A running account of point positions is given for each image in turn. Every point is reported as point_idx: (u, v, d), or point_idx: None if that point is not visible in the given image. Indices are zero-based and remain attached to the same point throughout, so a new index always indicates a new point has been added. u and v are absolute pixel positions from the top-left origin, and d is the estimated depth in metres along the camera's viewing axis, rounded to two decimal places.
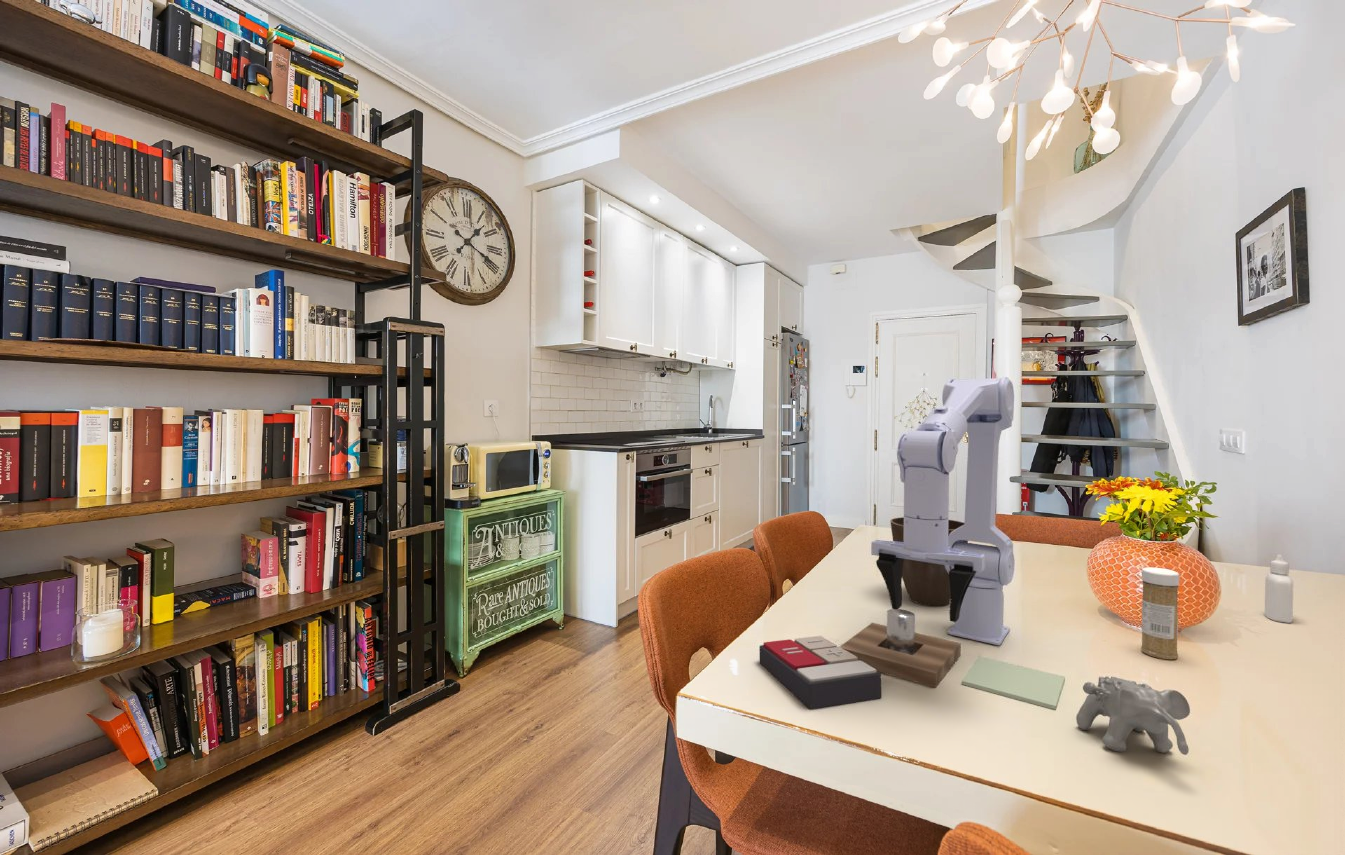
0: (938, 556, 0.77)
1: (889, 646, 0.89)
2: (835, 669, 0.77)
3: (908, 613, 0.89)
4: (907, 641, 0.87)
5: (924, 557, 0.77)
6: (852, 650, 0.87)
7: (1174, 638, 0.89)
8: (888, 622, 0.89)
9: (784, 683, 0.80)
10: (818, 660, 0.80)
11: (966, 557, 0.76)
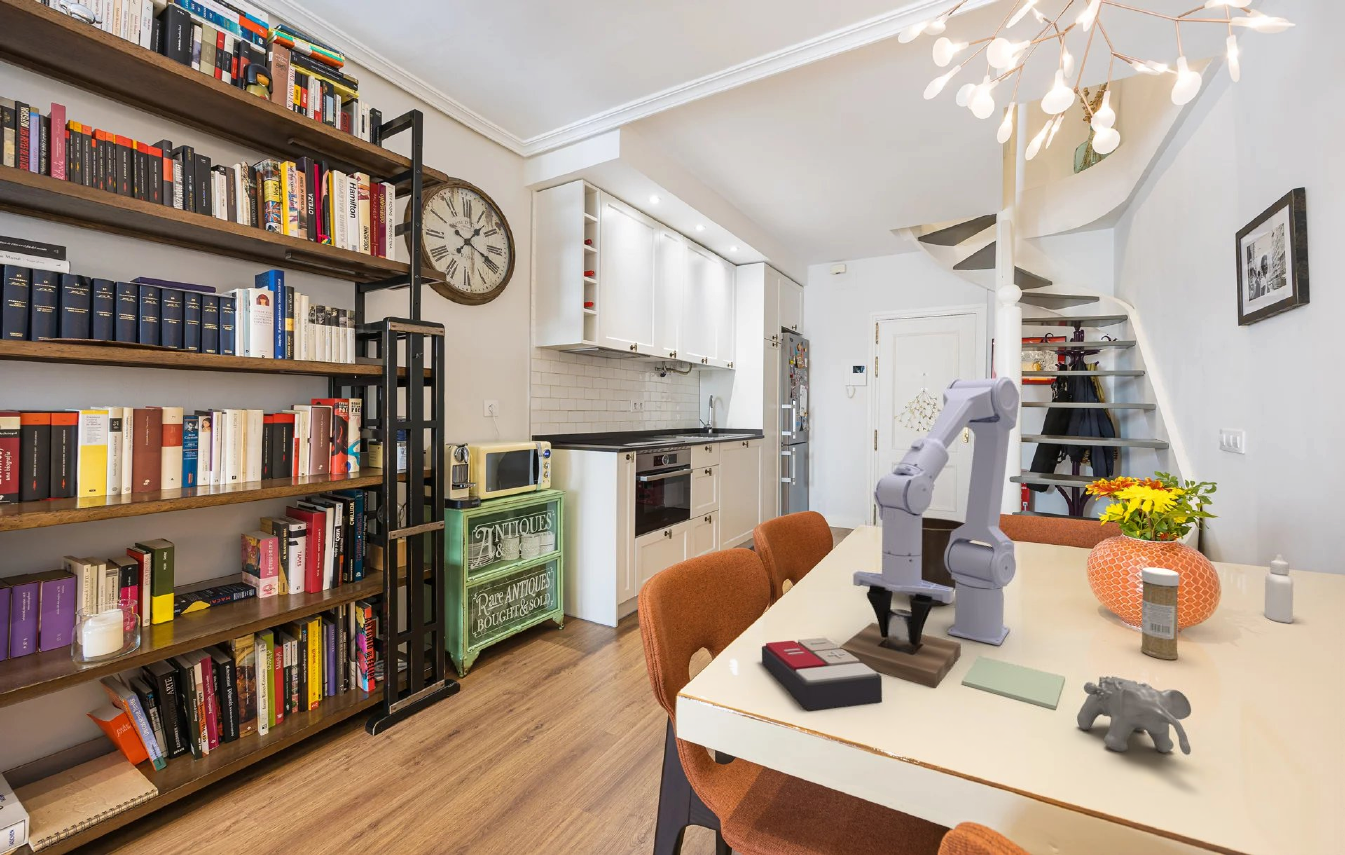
0: (911, 589, 0.86)
1: (889, 646, 0.89)
2: (834, 671, 0.76)
3: (908, 613, 0.89)
4: (907, 641, 0.87)
5: (899, 590, 0.86)
6: (852, 650, 0.87)
7: (1174, 638, 0.89)
8: (888, 622, 0.89)
9: (784, 684, 0.79)
10: (819, 661, 0.79)
11: (936, 590, 0.85)
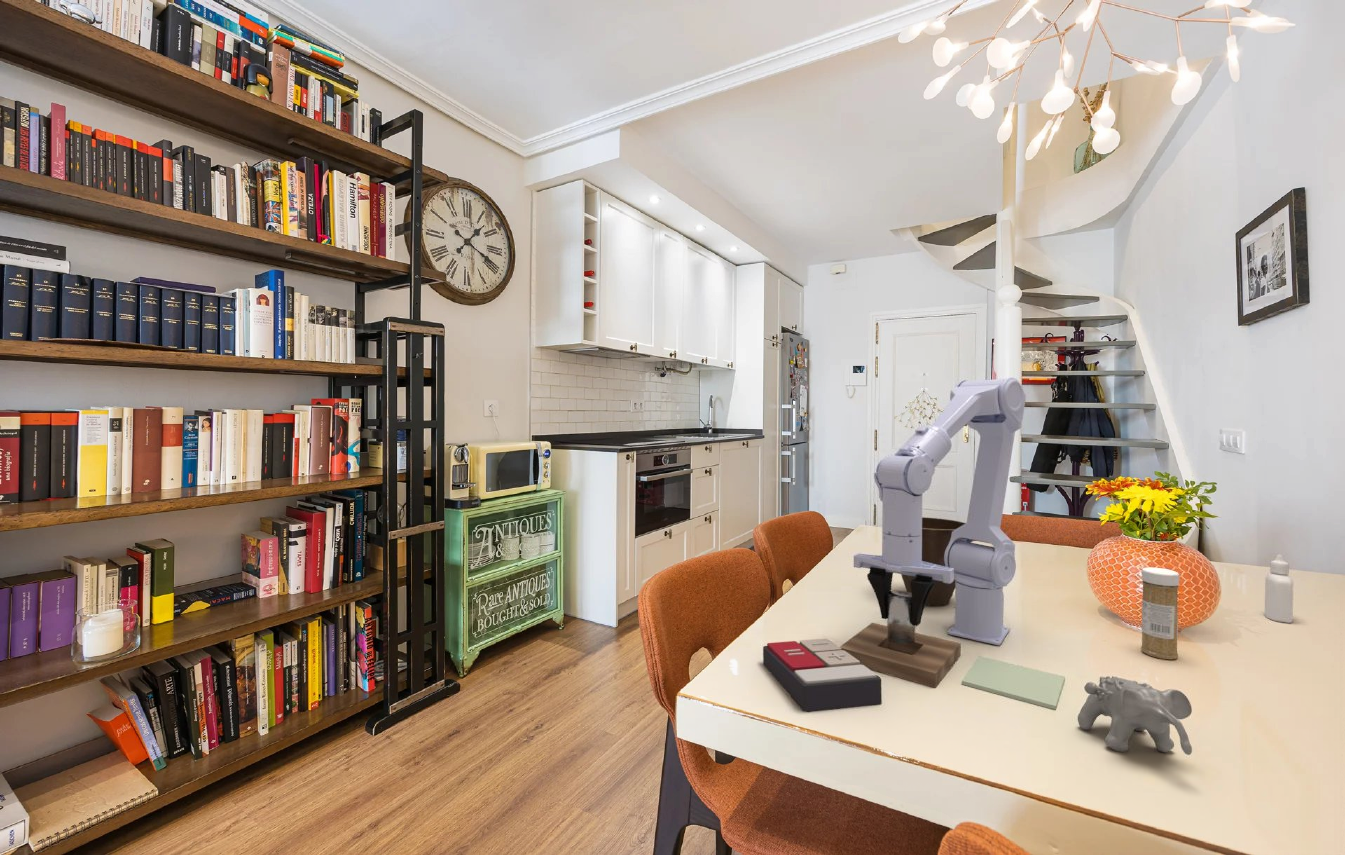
0: (911, 569, 0.86)
1: (889, 627, 0.89)
2: (833, 672, 0.76)
3: (908, 594, 0.89)
4: (907, 622, 0.87)
5: (899, 570, 0.85)
6: (852, 650, 0.87)
7: (1174, 638, 0.89)
8: (888, 603, 0.89)
9: (783, 684, 0.79)
10: (818, 662, 0.79)
11: (937, 570, 0.84)
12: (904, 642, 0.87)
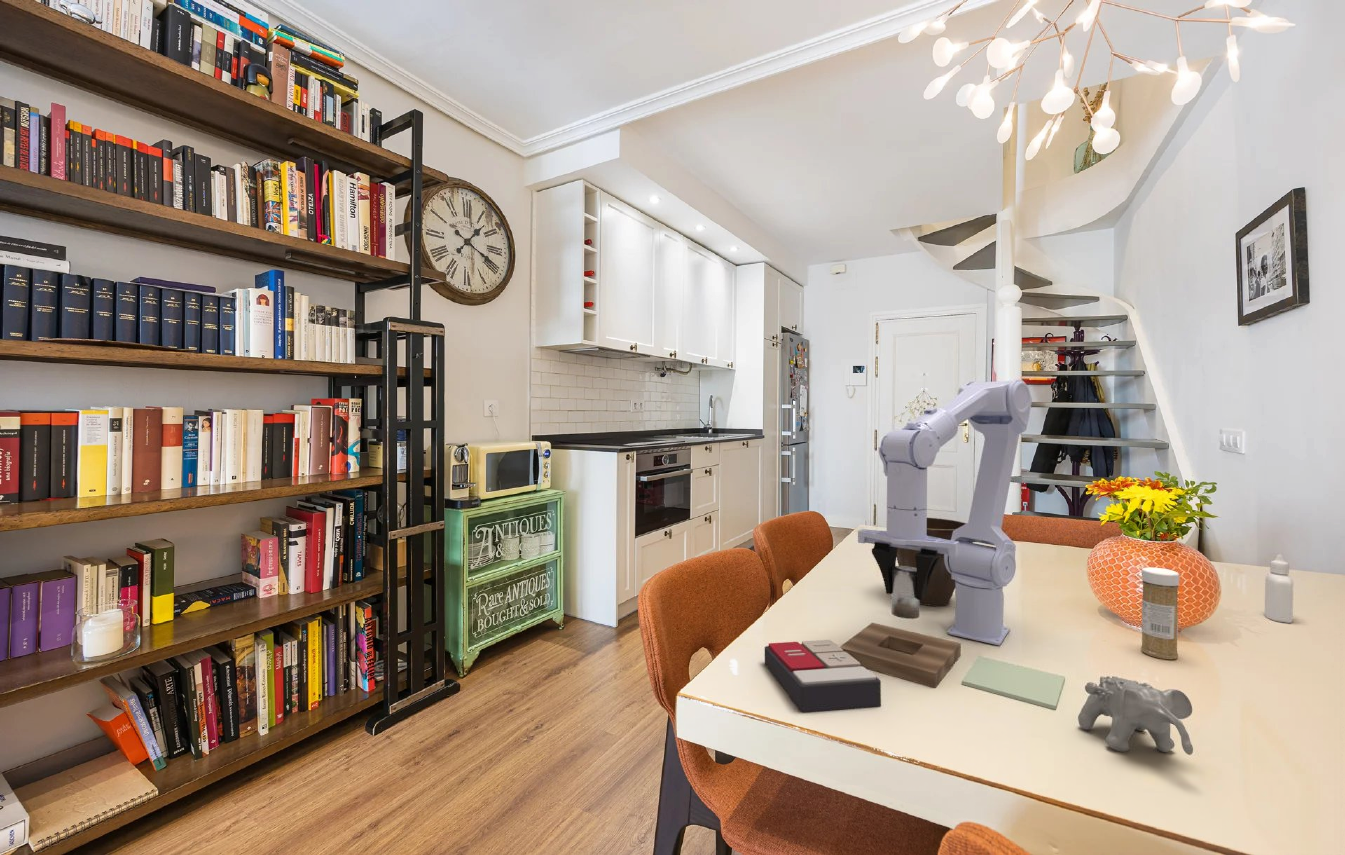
0: (916, 543, 0.85)
1: (894, 602, 0.88)
2: (832, 673, 0.76)
3: (913, 569, 0.89)
4: (912, 596, 0.87)
5: (904, 543, 0.85)
6: (852, 650, 0.87)
7: (1174, 638, 0.89)
8: (893, 578, 0.89)
9: (782, 685, 0.79)
10: (818, 663, 0.79)
11: (942, 544, 0.84)
12: (909, 616, 0.87)
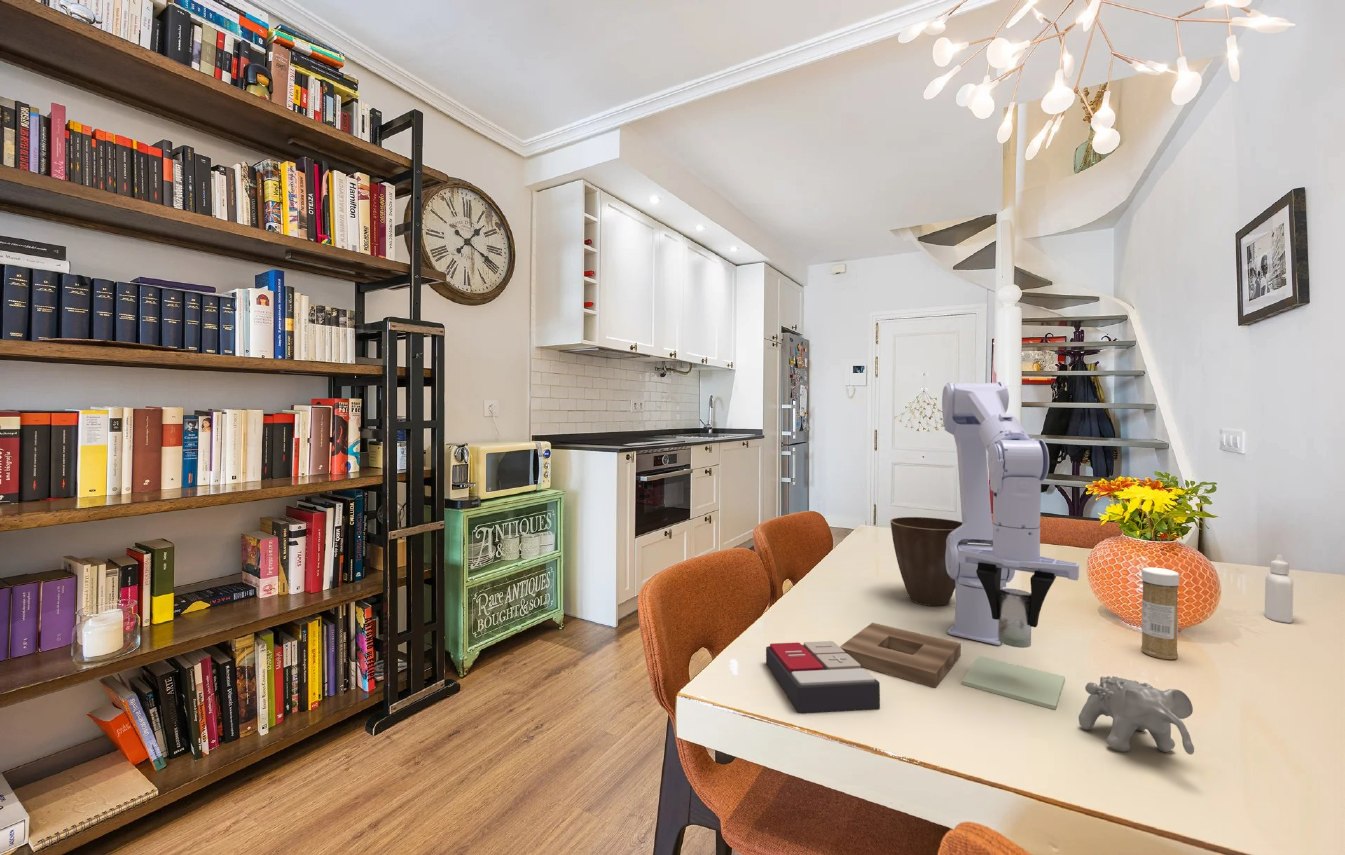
0: (1031, 564, 0.78)
1: (1003, 629, 0.81)
2: (831, 675, 0.75)
3: (1023, 592, 0.81)
4: (1025, 622, 0.79)
5: (1018, 565, 0.77)
6: (852, 650, 0.87)
7: (1174, 638, 0.89)
8: (1001, 602, 0.81)
9: (781, 685, 0.79)
10: (817, 664, 0.78)
11: (1061, 566, 0.76)
12: (1021, 645, 0.79)
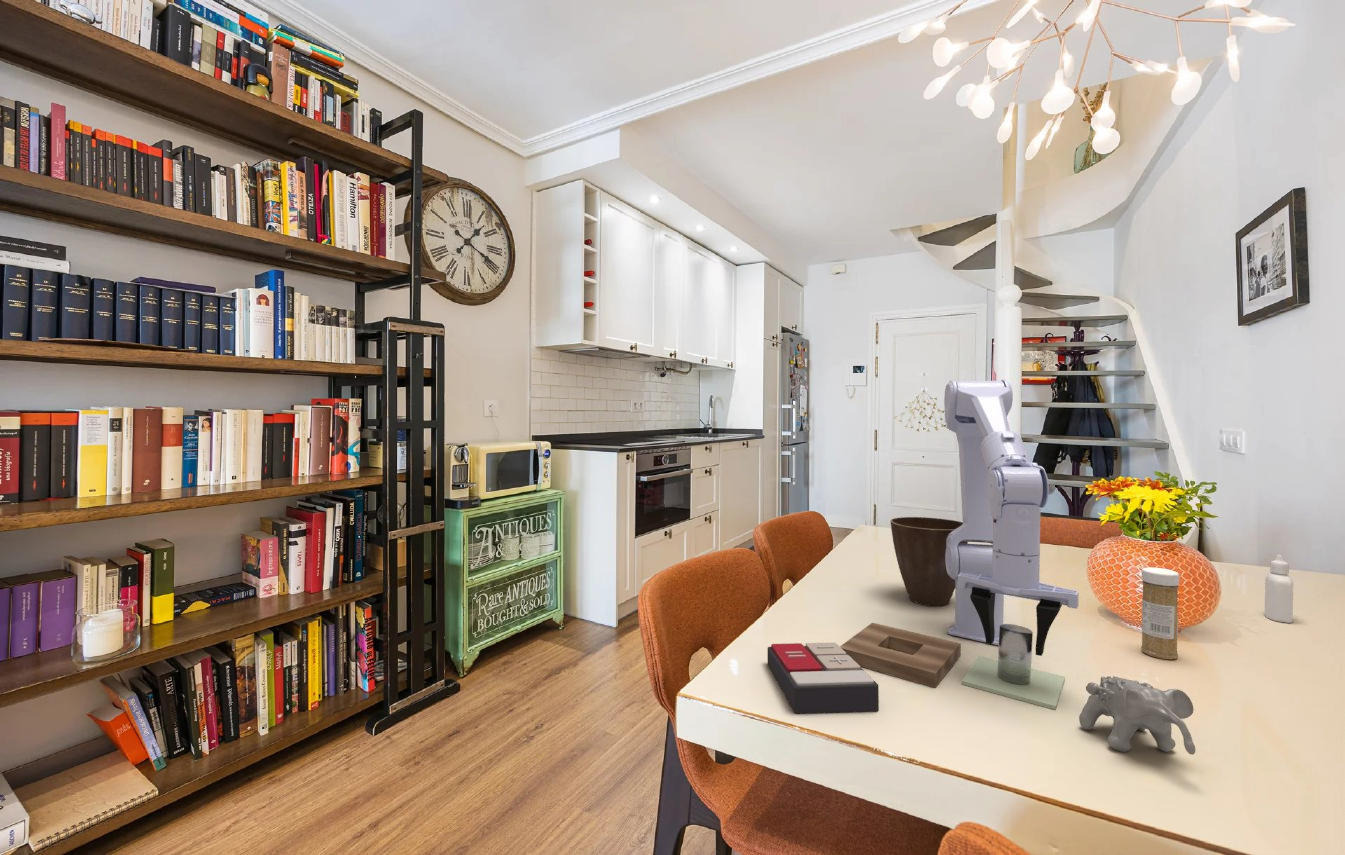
0: (1031, 592, 0.78)
1: (1002, 665, 0.81)
2: (829, 676, 0.75)
3: (1023, 629, 0.81)
4: (1025, 660, 0.79)
5: (1018, 593, 0.78)
6: (852, 650, 0.87)
7: (1174, 638, 0.89)
8: (1002, 639, 0.81)
9: (781, 686, 0.79)
10: (817, 665, 0.78)
11: (1061, 594, 0.77)
12: (1020, 682, 0.79)
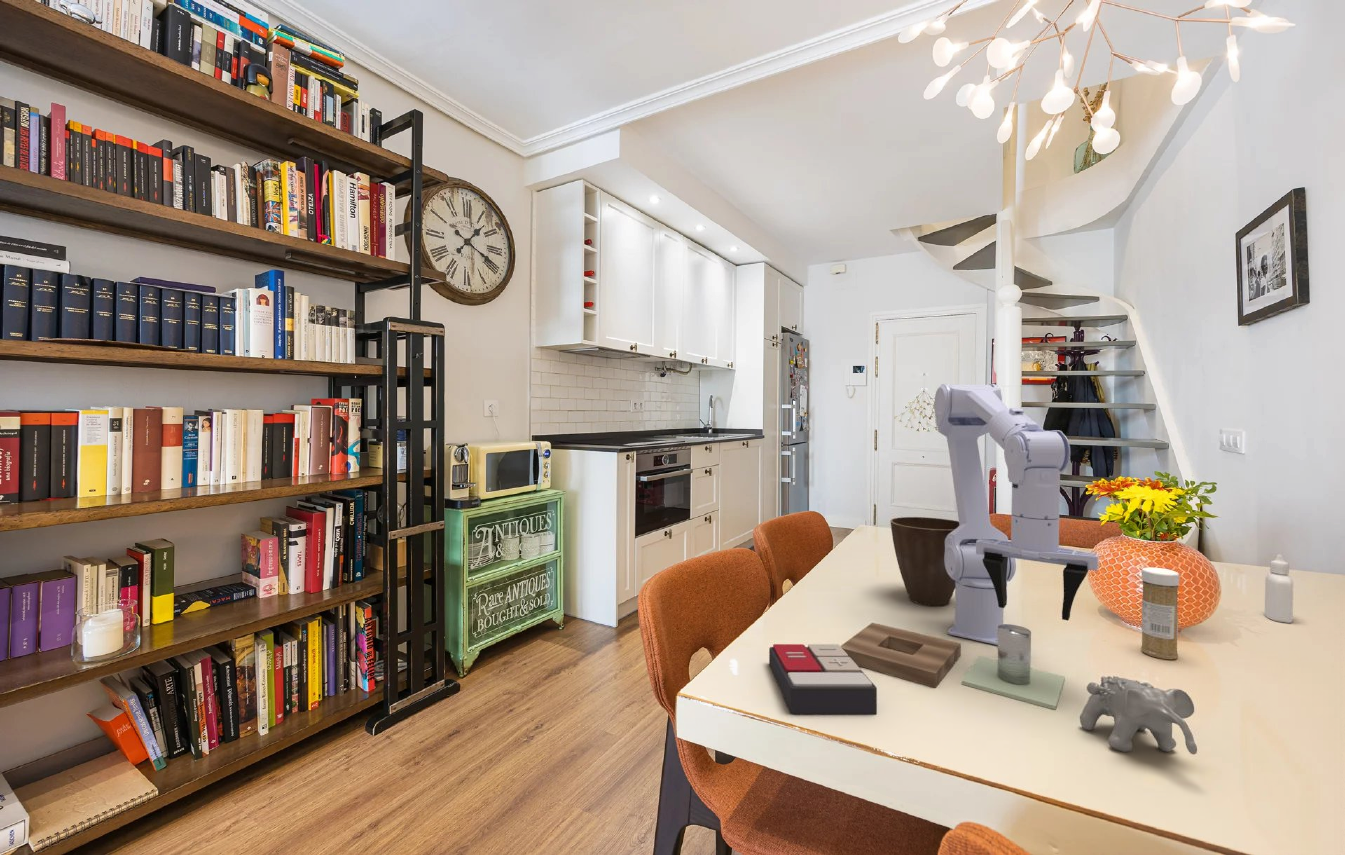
0: (1050, 555, 0.78)
1: (1002, 666, 0.81)
2: (827, 677, 0.74)
3: (1022, 629, 0.81)
4: (1024, 660, 0.79)
5: (1037, 556, 0.78)
6: (852, 650, 0.87)
7: (1174, 638, 0.89)
8: (1000, 639, 0.81)
9: (779, 686, 0.79)
10: (816, 666, 0.78)
11: (1081, 556, 0.77)
12: (1020, 683, 0.79)
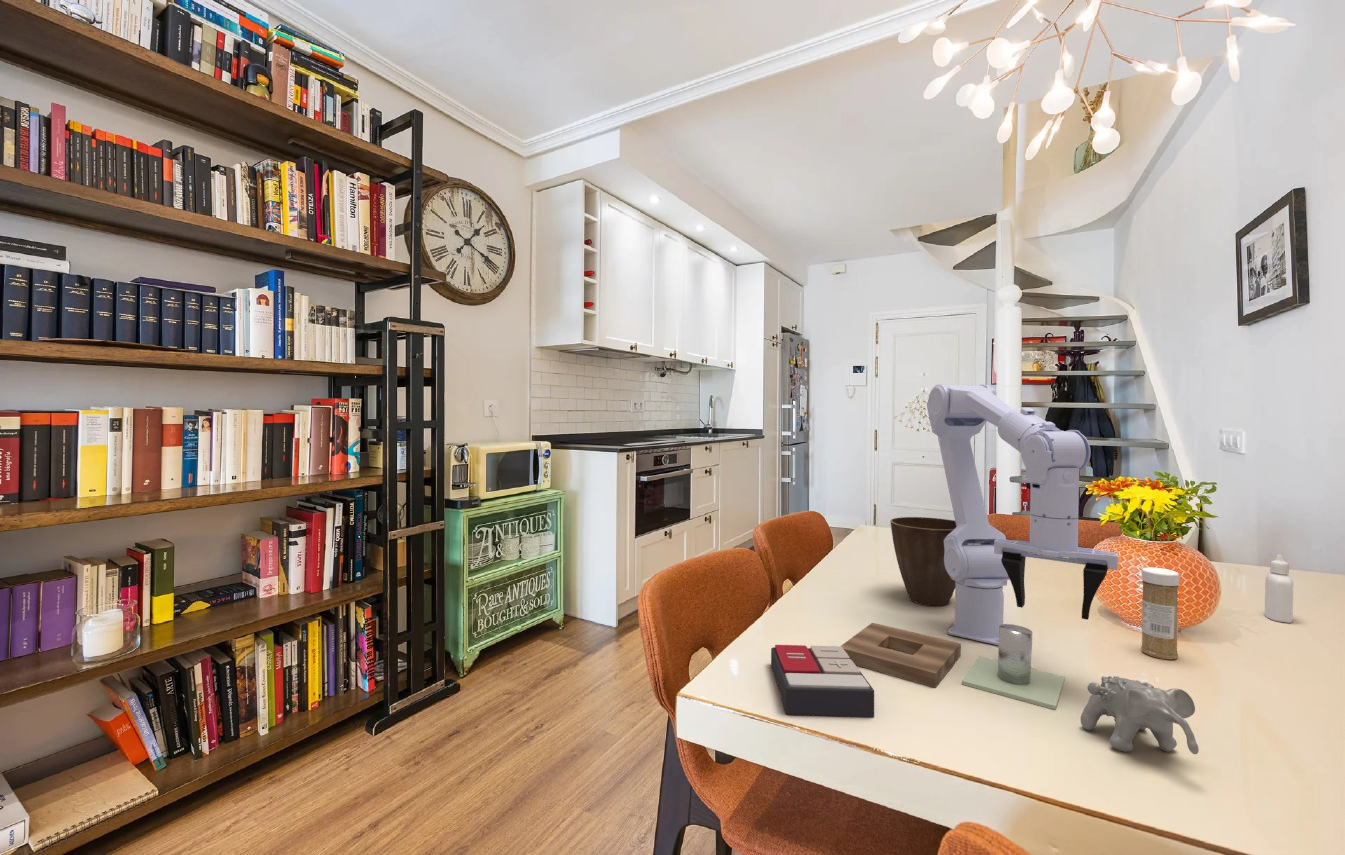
0: (1070, 554, 0.78)
1: (1003, 665, 0.81)
2: (824, 679, 0.74)
3: (1023, 629, 0.81)
4: (1025, 660, 0.79)
5: (1057, 555, 0.78)
6: (852, 650, 0.87)
7: (1174, 638, 0.89)
8: (1002, 639, 0.81)
9: (778, 686, 0.78)
10: (814, 668, 0.77)
11: (1101, 556, 0.77)
12: (1020, 682, 0.79)
